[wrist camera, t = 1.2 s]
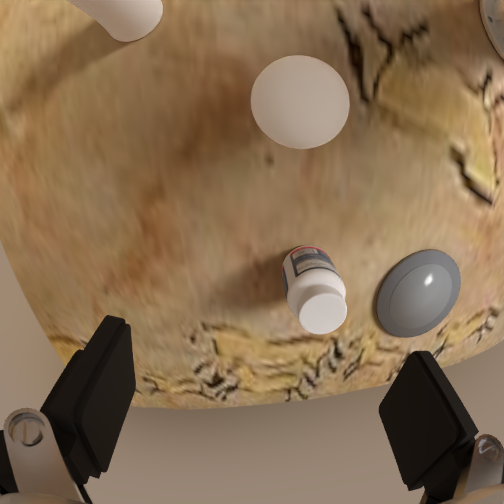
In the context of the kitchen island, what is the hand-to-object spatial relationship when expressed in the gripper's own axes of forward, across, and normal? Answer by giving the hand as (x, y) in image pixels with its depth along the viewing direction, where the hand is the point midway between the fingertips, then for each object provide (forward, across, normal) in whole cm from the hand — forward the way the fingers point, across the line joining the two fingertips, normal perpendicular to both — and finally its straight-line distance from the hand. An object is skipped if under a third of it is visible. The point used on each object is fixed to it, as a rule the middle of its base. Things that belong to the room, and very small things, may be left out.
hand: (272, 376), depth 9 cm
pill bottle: (+22, -6, +6) cm, 23 cm away
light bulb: (+22, -1, -10) cm, 24 cm away
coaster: (+22, -21, +7) cm, 31 cm away
